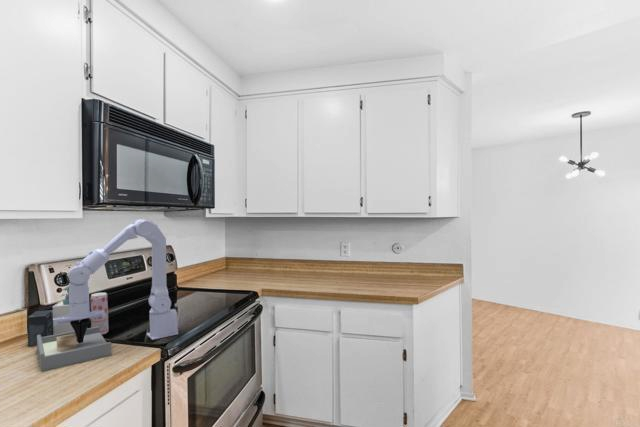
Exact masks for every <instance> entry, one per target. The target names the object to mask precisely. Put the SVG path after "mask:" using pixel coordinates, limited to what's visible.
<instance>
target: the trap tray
mask: <svg viewBox="0 0 640 427" xmlns="http://www.w3.org/2000/svg"><path fill="white" fill-rule="evenodd" d="M87 328H88V327H87ZM70 334H75V336H76V333H75V331H72V332H66V333H61V334H56V335H50V336H45V337H41V335H37V346H36V350H37V357H38V361H39V368H40V372H45V371H49V370H52V369H57V368H62V367H66V366H70V365H74V364H80V363H83V362H87V361H91V360H95V359H100V358H105V357H108V356H112V342H111V341H109V342H107V341H106V339H105V338H104V336H103V334H102V335H101V333H100V327H99V326H98V327H93V328H91V327H89V328H88V329H87V330H86V332H85V335H84V339H83V342H82V343H78V341H77V336H76V345H77V348H74V349H70V350H65V351H60V352H58V350H57V338H56V337H59V336H64V335H70Z"/></svg>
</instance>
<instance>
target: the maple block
mask: <svg viewBox="0 0 640 427" xmlns="http://www.w3.org/2000/svg"><path fill="white" fill-rule="evenodd" d="M56 338H57V350H58V352H60V351H65V350H70V349H74V348H77V345H76V336H75V334H70V335H64V336H59V337H56Z"/></svg>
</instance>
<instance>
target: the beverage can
mask: <svg viewBox="0 0 640 427" xmlns="http://www.w3.org/2000/svg"><path fill="white" fill-rule="evenodd" d="M102 310H104V311H105V317H98V318H93V319H90V323H91V324H90V328H93V327H98V326H99V327H100V333H101V335H102V336H103V335H105V334H107V333H108V332H109V305H108V293H107V292H96V293H92V294H91V295H90V312H93V311H102Z"/></svg>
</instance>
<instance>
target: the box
mask: <svg viewBox="0 0 640 427" xmlns="http://www.w3.org/2000/svg"><path fill="white" fill-rule="evenodd" d="M37 335H41V337H45V336H50V335H53V309H47V310H35V311H34V312H32V313H31V314H30V315H28V316H27V347H29V348H30V347H37Z"/></svg>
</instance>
